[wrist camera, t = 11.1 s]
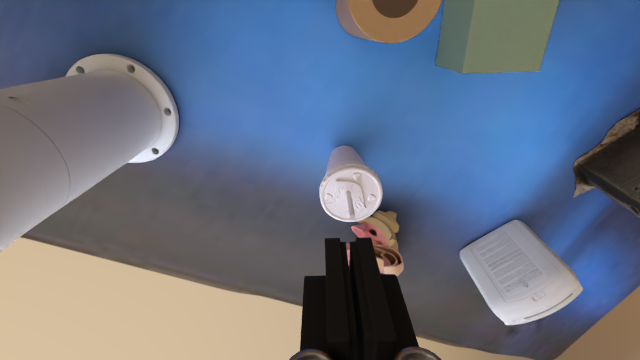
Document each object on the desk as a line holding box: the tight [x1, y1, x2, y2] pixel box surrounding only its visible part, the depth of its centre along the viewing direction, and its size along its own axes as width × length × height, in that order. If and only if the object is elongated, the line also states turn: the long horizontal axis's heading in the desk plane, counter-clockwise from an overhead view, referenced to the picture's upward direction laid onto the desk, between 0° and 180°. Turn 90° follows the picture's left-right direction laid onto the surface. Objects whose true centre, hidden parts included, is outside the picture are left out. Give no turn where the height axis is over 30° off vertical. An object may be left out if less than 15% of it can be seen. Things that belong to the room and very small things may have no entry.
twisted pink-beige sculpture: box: [346, 211, 404, 277], centre depth 41 cm, size 9×10×10 cm
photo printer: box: [460, 220, 583, 325], centre depth 39 cm, size 10×4×12 cm, turn 132°
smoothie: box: [319, 145, 383, 222], centre depth 32 cm, size 6×6×14 cm
